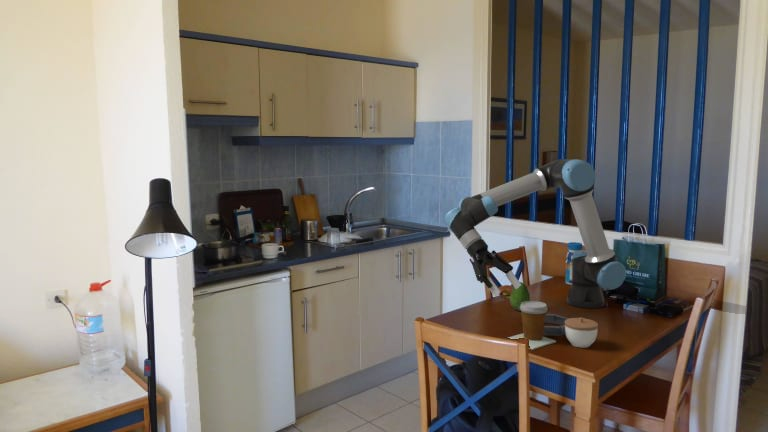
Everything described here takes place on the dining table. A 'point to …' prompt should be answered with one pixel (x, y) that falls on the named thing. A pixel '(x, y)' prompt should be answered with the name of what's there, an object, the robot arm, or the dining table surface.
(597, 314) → the dining table surface
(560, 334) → the grey shallow tray
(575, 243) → the beverage bottle
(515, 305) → the avocado
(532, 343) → the sage mat
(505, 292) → the burger
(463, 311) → the dining table surface
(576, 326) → the lidded jar
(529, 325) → the disposable coffee cup
